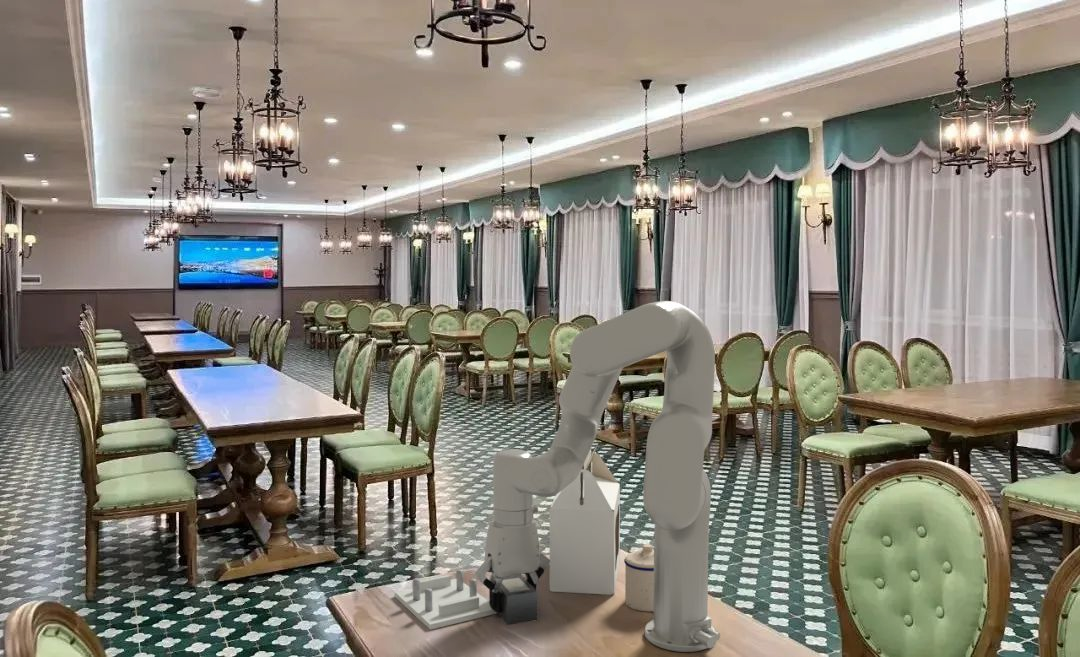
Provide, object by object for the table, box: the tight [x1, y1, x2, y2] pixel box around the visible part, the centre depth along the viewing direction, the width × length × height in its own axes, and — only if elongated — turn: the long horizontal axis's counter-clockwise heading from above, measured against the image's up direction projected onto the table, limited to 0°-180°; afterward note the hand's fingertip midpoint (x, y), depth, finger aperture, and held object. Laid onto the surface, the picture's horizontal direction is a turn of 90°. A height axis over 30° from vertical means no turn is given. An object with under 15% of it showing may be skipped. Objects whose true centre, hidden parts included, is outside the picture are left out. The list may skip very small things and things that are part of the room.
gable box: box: [548, 444, 621, 596], centre depth 173 cm, size 22×13×28 cm, turn 171°
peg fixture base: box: [394, 568, 498, 631], centre depth 157 cm, size 18×14×5 cm
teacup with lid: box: [623, 543, 654, 613], centre depth 159 cm, size 12×9×12 cm
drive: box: [497, 574, 538, 626], centre depth 154 cm, size 10×6×6 cm, turn 21°
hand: (513, 605), depth 154 cm, fingers open, 6 cm apart
